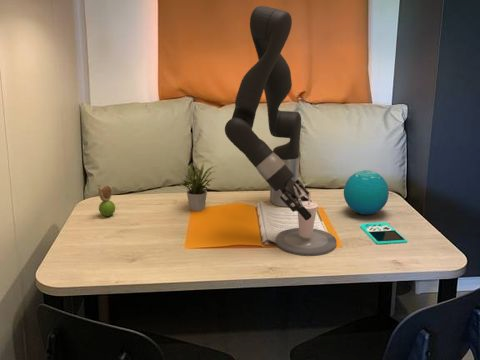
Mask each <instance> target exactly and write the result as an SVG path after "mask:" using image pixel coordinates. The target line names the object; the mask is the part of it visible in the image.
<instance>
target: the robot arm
mask: <svg viewBox="0 0 480 360" xmlns="http://www.w3.org/2000/svg"><path fill="white" fill-rule="evenodd" d="M292 19H293V18H292V15H291V13H289V12H288V11H286V10H282V9H278V8H274V7H270V6H265V5H258V6H256V7H255V8H254V9H253V10H252V12H251V13H250V19H249V30H250V34H251V37H252V41H253V46H254V47H255V52H256V55H257V60H258V61H257V62H255V64H253V66H252V67H250V69H248V71H247V72H246V73H245V75H244V76H243V77H242V79H241V82H240V84H239V87H238V90H237V94H236V96H235V100H234V106H235V107H234V110H233V113H232V117H231V118H230V119H229V120H227V122H226V123H225V126H224V133H225V136H226V137H227V139H228V140H229V141H230V142H231V143H232V144H233V145H234V146H235V147H236V149H238V150H239V151H240V152H241V153H243V155H245V157H246V158H247V159H248V161H249V162H250V163H251V164H252V165H253V167H254V168H255V169H256V170H257V172H258V173H259V175H261V177H262V178H263V180H265V182H266V183H267V184H268V185H269V189H270V190H269V201H270V202H271V204H273V205H274V206H278V207H284V208H285V207H287V208H288V209H290V210H291V211H292V212H293V213H294V212H297V213H298V212H299V213H300V214H301V216H302V217H303V218H304V219H305V220H308V219H310V218H311V216H312V215H311V214H310V213H309V211H308V210H307V209H306V208H305V207H303V204H302V203H301V202H302V201H308V198H309V190H308V189H307V188H306V187H305V186H304V185H303V183H302V182H301V181H300V180H299V169H300V167H299V166H300V144H301V143H300V142H301V141H300V140H301V129H302V116H301V113H300V112H298V111H290V110H289V111H288V110H279V108H280V107H281V104H282V103H283V102H284V100H285V99H287V96H289V94H290V92H291V90H292V88H293V87H292V85H293V83H292V74H291V73H292V72H291V69H290V66H289V64H288V62H287V61H286V59H285V58H284V56H283V55H282V54H281V53H282V50H283V48H284V47H285V44H286V43H287V40H288V38H289V36H290V33H291V31H292V30H291V29H292V23H293V20H292ZM263 93H264V97H265V102H266V109H267V123H268V129H269V133H270V135H271V136H272V137H274V138H280V139H281V138H282V139H284V138H285V139H289V141H288V142H286V143H285V144H282V145H278V146H275V147H274V148H273V149H271V148H270V146H269V145H268V144H267V143H266V142H265V141H264V140H263V139H261V138H260V137H259V136H258V135H257V134H256V133H255V132H254V130H253V127H254V123H255V119H256V113H257V110H258V107H259V105H260V102H261V100H262V96H263ZM310 202H313V201H312V200H311V199H310Z"/></svg>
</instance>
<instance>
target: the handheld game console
mask: <svg viewBox="0 0 480 360" xmlns="http://www.w3.org/2000/svg"><path fill="white" fill-rule="evenodd" d="M359 228H360V229H361V230H362V231H363V232H364V233H365V234H366V235H367V237H369V238H370V239H371V241H372V242H374V244H376V245H377V246H379V245H391V244H394V245H395V244H407V243H408V240H407V239H406V238H405V237H404V236H403V235H401V233H399V231H397V230H396V229H395V228H394V227H392V226H391V225H390V224H389V223H388V222H387V221H385V222H382V221H381V222H366V223H362V224H360V225H359Z"/></svg>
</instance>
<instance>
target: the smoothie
mask: <svg viewBox="0 0 480 360" xmlns="http://www.w3.org/2000/svg"><path fill="white" fill-rule="evenodd" d="M308 192H309V198H308V201H302V202H301V203H302V204H303V207H305V208H306V209H307V210H308V211H309V213H310V214H311V215H312V216H311V218H310V219H308V220H305V219H304V218H303V217H302V216H301V214H300V213H299V212H298V211H297V220H298V228H299V234H300V236H301V237H305V238H308V237H311V236H312V233H313V229H314V226H315V220H316V215H317V210H319V205H318V203H316V202H315V201H312V202H310V200H311V195H312V194H311V192H312V191H311V190H308Z"/></svg>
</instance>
